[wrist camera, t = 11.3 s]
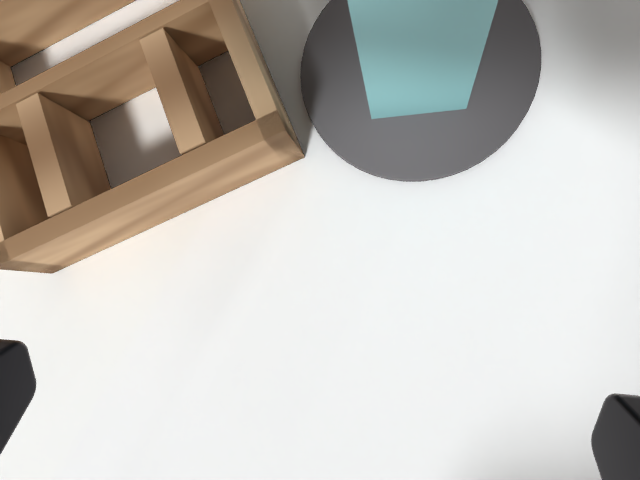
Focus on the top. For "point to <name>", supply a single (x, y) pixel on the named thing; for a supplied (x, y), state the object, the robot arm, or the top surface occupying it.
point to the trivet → (428, 128)
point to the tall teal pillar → (419, 52)
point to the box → (107, 93)
